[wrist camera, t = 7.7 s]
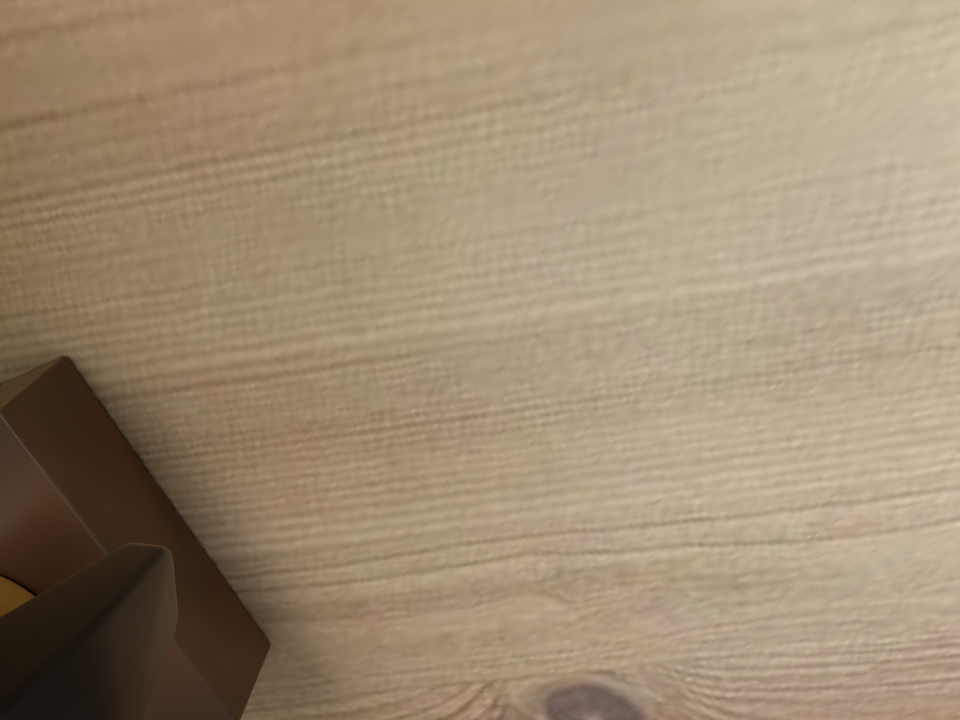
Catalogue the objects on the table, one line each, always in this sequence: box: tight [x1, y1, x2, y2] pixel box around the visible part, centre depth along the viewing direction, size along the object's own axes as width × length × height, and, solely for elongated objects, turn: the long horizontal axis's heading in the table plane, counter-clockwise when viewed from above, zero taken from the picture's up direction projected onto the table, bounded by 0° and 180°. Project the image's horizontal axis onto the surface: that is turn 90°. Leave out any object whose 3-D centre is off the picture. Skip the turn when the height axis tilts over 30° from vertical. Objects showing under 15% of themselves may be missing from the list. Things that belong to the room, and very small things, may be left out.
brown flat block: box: [0, 356, 270, 720], centre depth 24 cm, size 10×9×3 cm
